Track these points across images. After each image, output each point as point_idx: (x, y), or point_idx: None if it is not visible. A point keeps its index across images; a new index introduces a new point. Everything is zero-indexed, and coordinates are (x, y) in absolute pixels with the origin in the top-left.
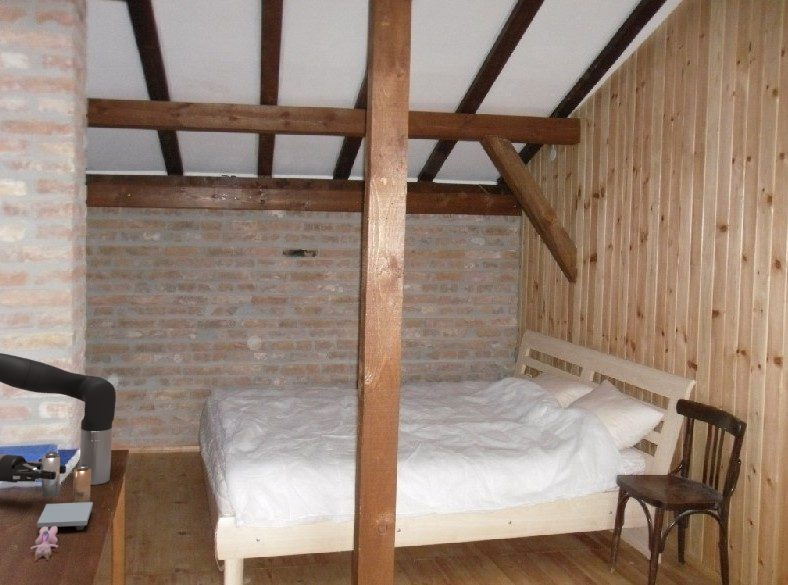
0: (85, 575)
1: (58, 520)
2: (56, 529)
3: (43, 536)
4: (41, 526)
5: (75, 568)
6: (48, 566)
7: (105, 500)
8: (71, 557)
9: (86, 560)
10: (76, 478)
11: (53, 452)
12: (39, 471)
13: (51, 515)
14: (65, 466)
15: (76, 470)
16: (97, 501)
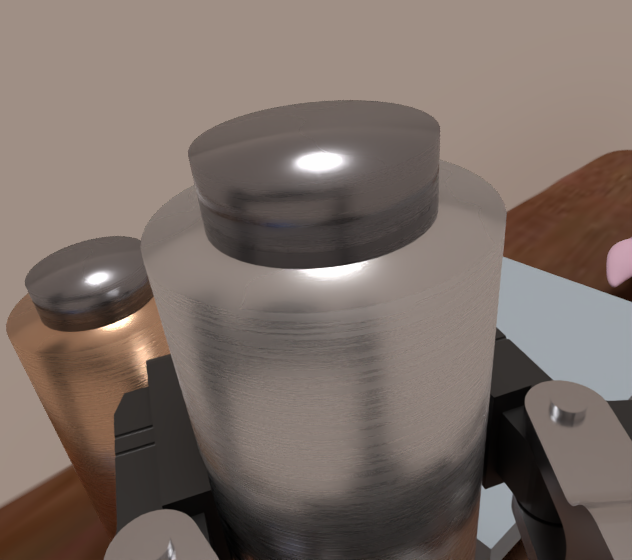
0: (619, 151)
1: (566, 293)
2: (621, 241)
3: None
4: None
5: (628, 173)
6: None
7: (18, 521)
8: (610, 206)
9: (577, 185)
10: None
11: (249, 140)
12: (581, 386)
13: (570, 354)
14: (150, 359)
15: (151, 306)
16: (51, 548)
